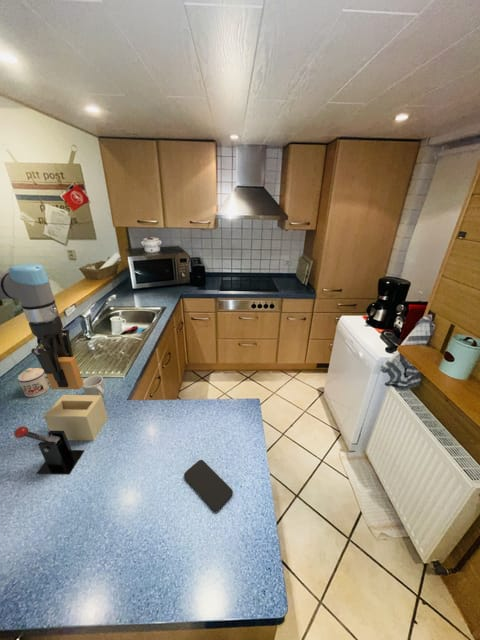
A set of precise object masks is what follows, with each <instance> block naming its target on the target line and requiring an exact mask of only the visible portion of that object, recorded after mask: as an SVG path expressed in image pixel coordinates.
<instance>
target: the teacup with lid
mask: <svg viewBox="0 0 480 640" xmlns="http://www.w3.org/2000/svg"><path fill="white" fill-rule="evenodd" d="M17 381H18V382H19V385H20V386H21V389H22V391H23V393H24V396H25V397H27V398H36V397H39V396H42V395H44V394H45V393H46V392H48V391H49V389H50V383H49V380H48V377H47V375H46V374H45V372H44V370H43V368H42V367H33V368H32V367H28V368H27V369H25V370H24V371H22V372H21V373H20V374H19V375H18V376H17Z"/></svg>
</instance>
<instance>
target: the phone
mask: <svg viewBox="0 0 480 640" xmlns="http://www.w3.org/2000/svg"><path fill="white" fill-rule="evenodd" d="M183 477H184V479H185V481H186V482H187V483H188V484H189V485H190V486H191V487H192V489H193V490H194V491H195V492H196V493H197V494H198V496H200V498H201V499H202V500H203V501H204V502H205V504H206V505H207V506H208V507H209V508H210V510H211V511H212V512H213V513H214V512H215V513H217V512H218V511H220V510H221V509H222V508H223V507H224V506H225V504H226V503H227V502H228V501H229V500H230V499H231V498H232V497H233V494H234V492H233V489H232V487H231V486H229V485H228V484H227V482H225V481H224V480H223V479H222V477H220V476H219V474H217V472H215V471H214V469H212V468H211V466H210V465H208V464H207V463H206V462H205V461H204V460H203V459H199V460H198V461H196V462H195V463H194V464H193V465H192V466H191V467H189V468H188V469H186V471H185V472H184V473H183Z"/></svg>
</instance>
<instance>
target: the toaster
mask: <svg viewBox="0 0 480 640" xmlns="http://www.w3.org/2000/svg"><path fill="white" fill-rule="evenodd" d="M103 398H104V397H102V395H86V394H62V395H61V396H60V397H59V398H58V400H57V401H56V402H55V403H54V404H53V405H51V407H50V408H49V410H47V412H45V414H44V415H43V419H44V421H45V423H46V425H47V427H48V431H64V432H65V435H66V437H67V440H68V441H95V440H96V438H97V437H98V435H99V433H100V432H101V430H102V429H103V427H104V425H105V424H106V422H107V421H108V419H109V417H108V413H107V410H106V405H105V403H104V399H103Z"/></svg>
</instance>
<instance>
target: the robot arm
mask: <svg viewBox="0 0 480 640" xmlns="http://www.w3.org/2000/svg"><path fill="white" fill-rule="evenodd" d="M1 300H19V302H20V304H21V308H22V310H23V313H24V316H25V318H26V322H28V326H29V329H30V331H31V334H32V335H33V336H35V337H36V344H37V346H36V347H35V348H31V350H30V351H31V353H32V354H33V355H35V357H36V359H37V361H38V362H39V364H40V367H41V368H42V369H43V370H44V372H45V374H53V376H54V379H55V381H57V384H58V387H68V383H67V380H66V377H65V374H64V371H63V370H62V369H60V365H59V361H58V357H74V353H73V348H72V344H71V339H70V329H66V328H64V324H63V321H62V318H61V316H60V312H59V310H58V306H57V303H56V300H55V297H54V293H53V290H52V286H51V282H50V278H49V276H48V274H47V272H46V270H45V267H44V266H43V265H42V264H40V263H32V262H31V263H20V264H15V265H12V266H10V267H8V271H6V270H5V271H2V270H0V301H1Z"/></svg>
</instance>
